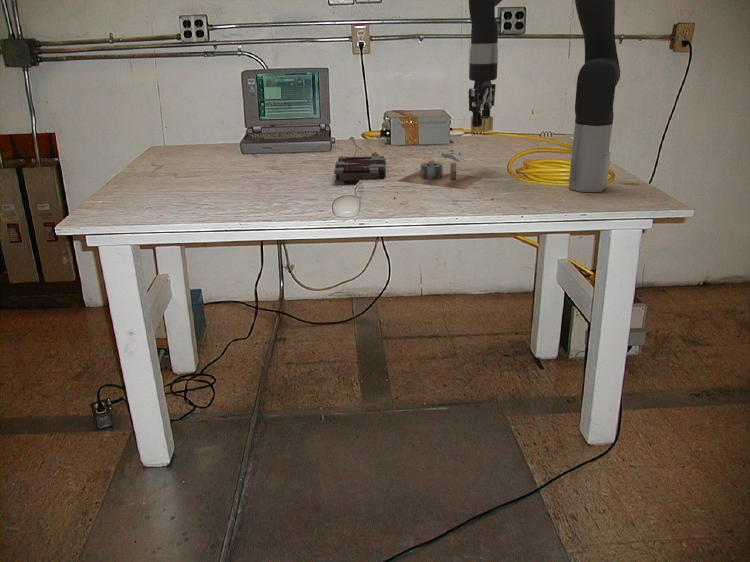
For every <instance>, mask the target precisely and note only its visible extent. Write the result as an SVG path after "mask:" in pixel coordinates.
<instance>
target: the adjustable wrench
mask: <svg viewBox="0 0 750 562" xmlns="http://www.w3.org/2000/svg"><path fill="white" fill-rule="evenodd" d="M441 156H442V158H449V159H452V160H453V161H454V162H455V163H456V162H457V163H459V162H461V163H468V162H469V161H468V160H466V159H465V158H464V157H462V156H461V151H460V150H459V149H450V151H447V150H442V151H441Z"/></svg>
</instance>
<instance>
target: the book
mask: <svg viewBox="0 0 750 562" xmlns="http://www.w3.org/2000/svg"><path fill="white" fill-rule="evenodd" d="M386 159H387V158H385V156H384V155H383V156H380V155H379V153H377V152H376V151H374V152H372V153H371V155H370V156H343V155H342V156H338V158H337V160H338V161H336V162H335V165H334V166H335V167H334V170H333V172H334V173H333V174H334V175H335V180H334V186H344V185H357V184H358V183H359V181H360V180H364V179H365V180H367V179H369V180H370V179H380V180H385V178H386V175H387V174H386V172H387V170H386V167H387V165H386Z"/></svg>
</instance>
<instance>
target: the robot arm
mask: <svg viewBox="0 0 750 562" xmlns="http://www.w3.org/2000/svg"><path fill="white" fill-rule="evenodd" d="M502 1H503V0H468V9H469V17H470V22H471V23H470V24H471V32H470V49H469V61H468V62H469V64H468V65H469V68H468V79H469V80H470V81H474V83H473V88H469V89H468V110H469V112H471V113H472V116H473V123H472V125H473V127H480V126H481V116H491V110H492V108H493V107H494V106H495V97H496V87H497V86H496V85H497V84H496V83H492V81H495V80H497V78H498V63H499V48H498V45H499V44H498V42H499V40H498V39H499V24H498V21H497V20H496V15H495V14H496V12H495V9H496V8H495V7H496V6H497V5H499V4H500V3H501V2H502ZM574 2H575V4H574V5H575V9H576V15H577V17H578V21H579V24H580V28H581V31H582V36H583V39H584V41H583V42H584V64H583V65H581V68H580V70H579V72H578V74H577V79H576V90H575V101H574V114H575V115H574V116H575V118H574V120H575V122H574V127H573V128H574V129H573V130H574V131H573V137H572V138H573V139H572V147H571V148H572V149H571V158H570V165H569V166H570V167H569V176H568V177H569V178H568V189H570V190H572V191H576V192H581V193H582V192H583V193H603V191H604V190H605V189H606V188H607V185H608V184H607V183H608V176H609V170H610V169H609V167H610V162H611V161H610V160H611V151H610V147H611V146H610V145H611V138H612V130H613V123H614V116H615V115H614V114H615V113H614V101H615V93H616V86H617V85H618V83H619V81H620V79H621V78H620V77H621V67H620V66H621V65H620V62H619V61H620V60H619V57H618V51H617V44H616V43H617V42H616V34H615V33H616V32H615V28H616V27H615V25H616V23H615V21H616V0H574Z"/></svg>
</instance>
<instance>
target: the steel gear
mask: <svg viewBox="0 0 750 562" xmlns="http://www.w3.org/2000/svg"><path fill="white" fill-rule="evenodd" d="M419 165H420V167H419V170H420V177H422V179H429V180H432V179H440V177H442V174H443V173H444V171H443V166H444V164H443V163H441V162H434V166H429V162H422V163H421V164H419Z"/></svg>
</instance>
